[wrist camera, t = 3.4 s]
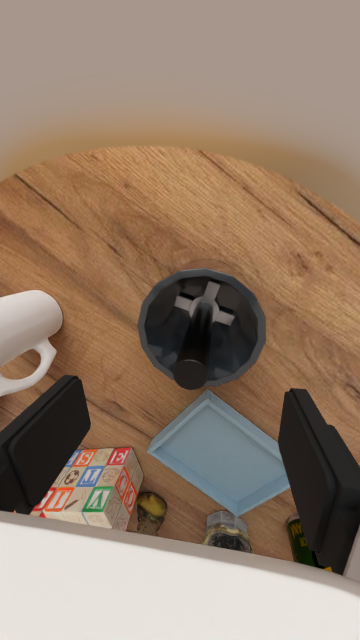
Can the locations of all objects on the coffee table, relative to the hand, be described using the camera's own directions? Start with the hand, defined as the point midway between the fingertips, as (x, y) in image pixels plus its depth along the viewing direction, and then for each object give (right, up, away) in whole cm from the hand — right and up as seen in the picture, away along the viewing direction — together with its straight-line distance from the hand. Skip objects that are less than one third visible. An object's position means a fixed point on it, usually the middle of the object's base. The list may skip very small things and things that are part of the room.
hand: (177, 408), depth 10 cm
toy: (-4, -28, +29) cm, 40 cm away
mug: (-17, +4, +20) cm, 26 cm away
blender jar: (+3, +6, +15) cm, 17 cm away
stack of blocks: (-17, -20, +28) cm, 39 cm away
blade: (+3, +5, +15) cm, 16 cm away
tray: (+6, -15, +22) cm, 27 cm away
